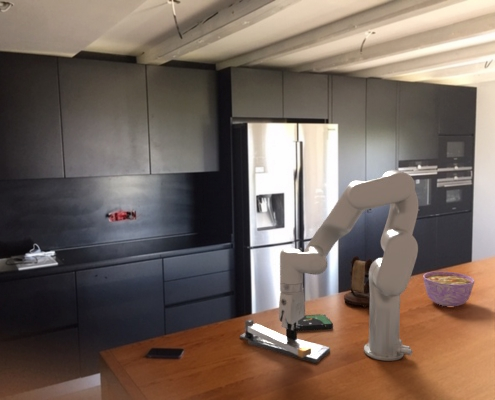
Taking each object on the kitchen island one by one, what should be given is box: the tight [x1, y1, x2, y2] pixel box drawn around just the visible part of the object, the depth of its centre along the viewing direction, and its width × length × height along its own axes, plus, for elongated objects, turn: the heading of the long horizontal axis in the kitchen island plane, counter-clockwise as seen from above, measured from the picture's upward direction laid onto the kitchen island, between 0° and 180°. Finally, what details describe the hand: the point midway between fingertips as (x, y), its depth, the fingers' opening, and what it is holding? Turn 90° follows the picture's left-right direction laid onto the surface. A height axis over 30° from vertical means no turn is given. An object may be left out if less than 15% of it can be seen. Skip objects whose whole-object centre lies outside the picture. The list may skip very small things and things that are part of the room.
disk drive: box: [296, 313, 334, 333], centre depth 178 cm, size 10×3×15 cm
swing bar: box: [244, 319, 312, 358], centre depth 157 cm, size 30×4×5 cm, turn 40°
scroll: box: [343, 255, 374, 309], centre depth 201 cm, size 15×15×20 cm
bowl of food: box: [422, 271, 475, 307], centre depth 198 cm, size 20×20×12 cm
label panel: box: [239, 332, 331, 364], centre depth 160 cm, size 32×10×2 cm, turn 55°
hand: (291, 339), depth 157 cm, fingers closed
